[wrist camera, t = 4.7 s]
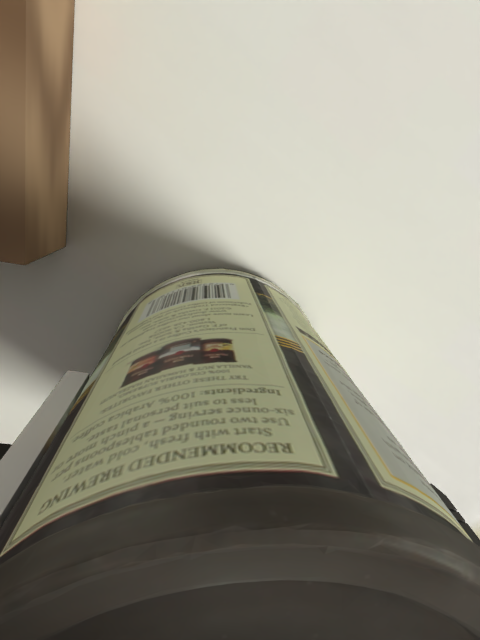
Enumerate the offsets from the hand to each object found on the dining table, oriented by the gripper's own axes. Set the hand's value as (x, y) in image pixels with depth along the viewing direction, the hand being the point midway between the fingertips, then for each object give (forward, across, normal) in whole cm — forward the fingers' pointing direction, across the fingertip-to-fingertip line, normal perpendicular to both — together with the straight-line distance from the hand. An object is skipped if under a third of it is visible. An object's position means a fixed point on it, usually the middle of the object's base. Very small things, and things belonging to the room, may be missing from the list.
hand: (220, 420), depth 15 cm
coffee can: (+5, 0, 0) cm, 5 cm away
